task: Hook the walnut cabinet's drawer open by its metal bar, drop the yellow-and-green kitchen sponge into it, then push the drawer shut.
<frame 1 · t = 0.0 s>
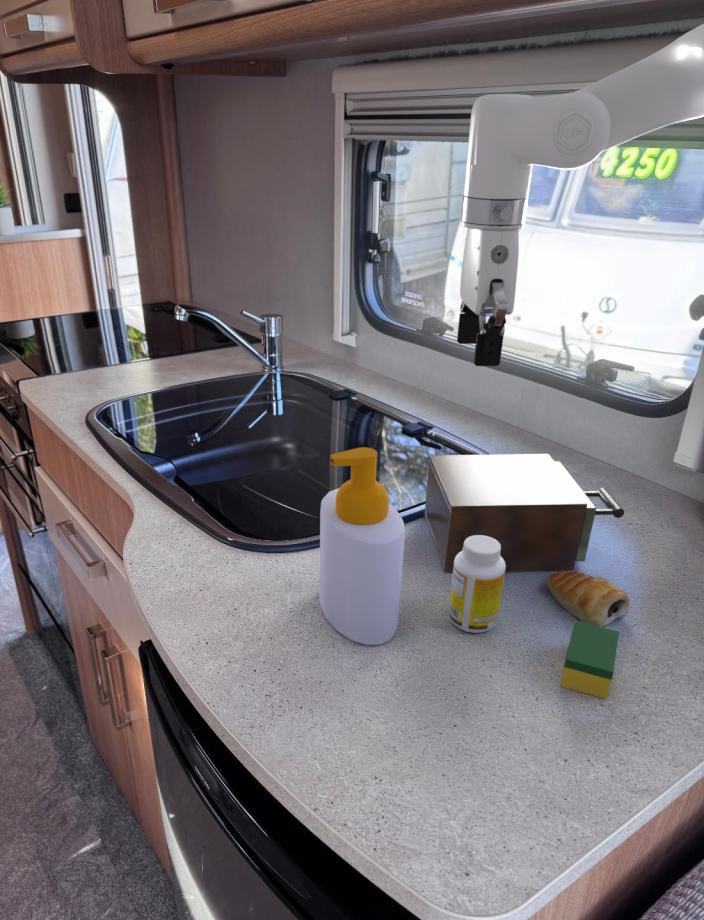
hand: (477, 353, 95), 23 cm above the worktop, tool pointing down, fingers open, 9 cm apart
sponge: (586, 671, 75), on the worktop
supplement bottle: (471, 621, 83), on the worktop
soap bottle: (357, 613, 84), on the worktop
drawer: (535, 510, 96), point 5 cm above the worktop, slide at 0.3 cm
pastry: (585, 608, 85), on the worktop
cabinet: (494, 541, 98), on the worktop
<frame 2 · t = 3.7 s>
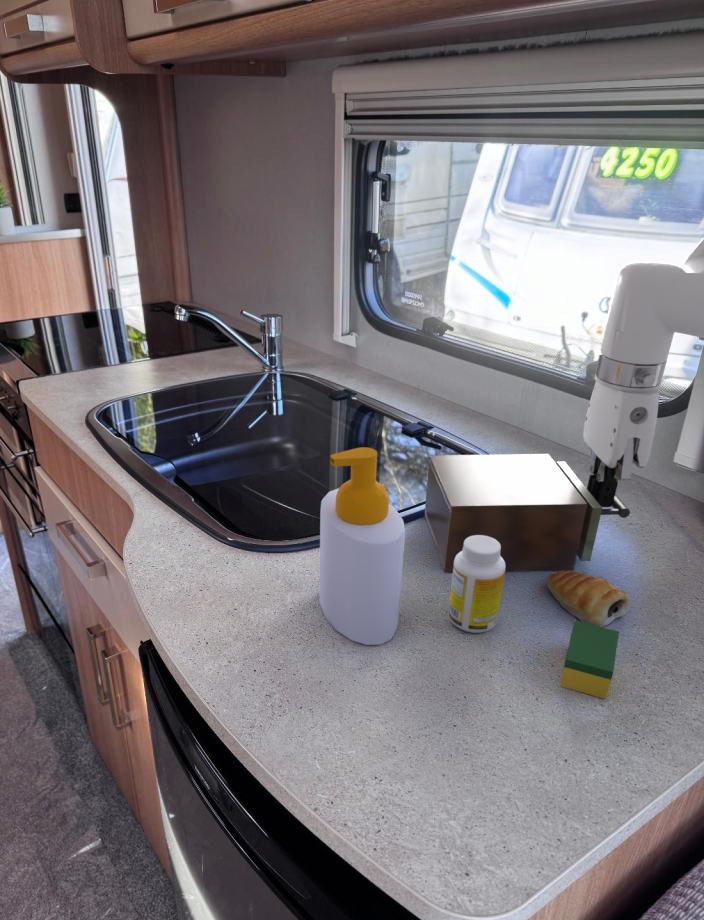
hand: (597, 504, 96), 6 cm above the worktop, tool pointing down, fingers closed
drawer: (540, 509, 96), point 5 cm above the worktop, slide at 1.0 cm
everything else where it was.
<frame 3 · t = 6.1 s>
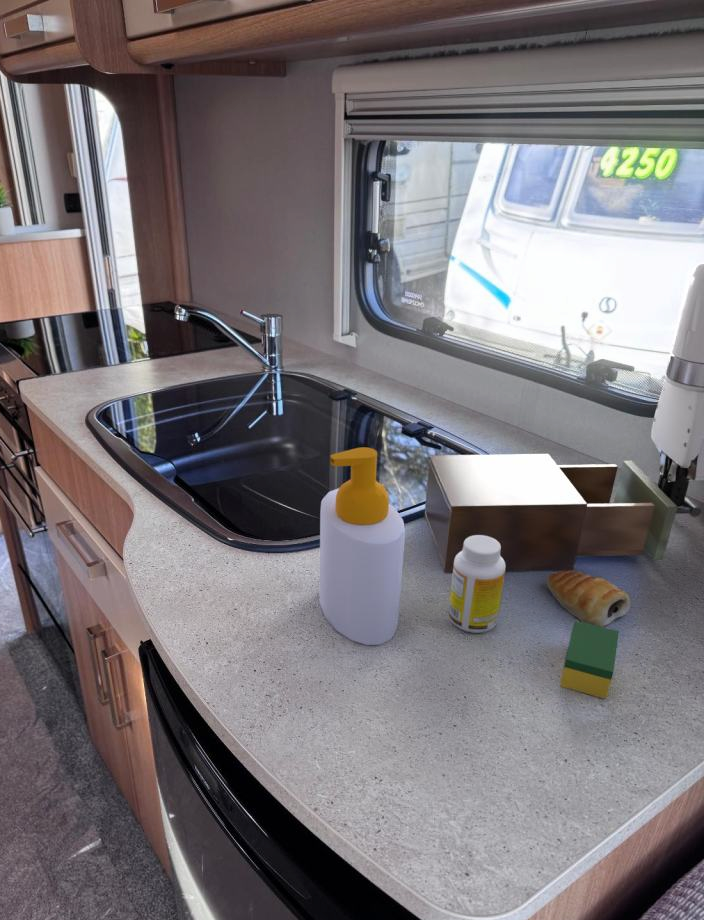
hand: (668, 504, 96), 5 cm above the worktop, tool pointing down, fingers closed
drawer: (610, 508, 96), point 5 cm above the worktop, slide at 10.5 cm
everything else where it was.
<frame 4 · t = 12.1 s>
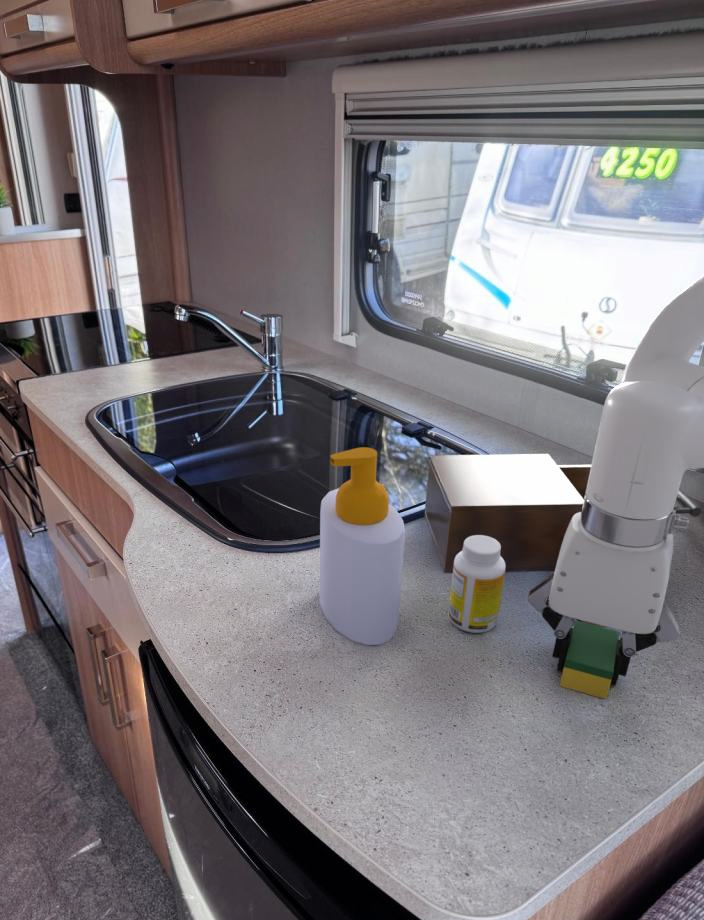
hand: (587, 668, 75), 0 cm above the worktop, tool pointing down, fingers closed on sponge, 4 cm apart
sponge: (586, 671, 75), on the worktop, touching gripper
everything else where it was.
when the fingers open (9 cm above the worktop, at t = 18.5 s): sponge drops 7 cm, resting on drawer.
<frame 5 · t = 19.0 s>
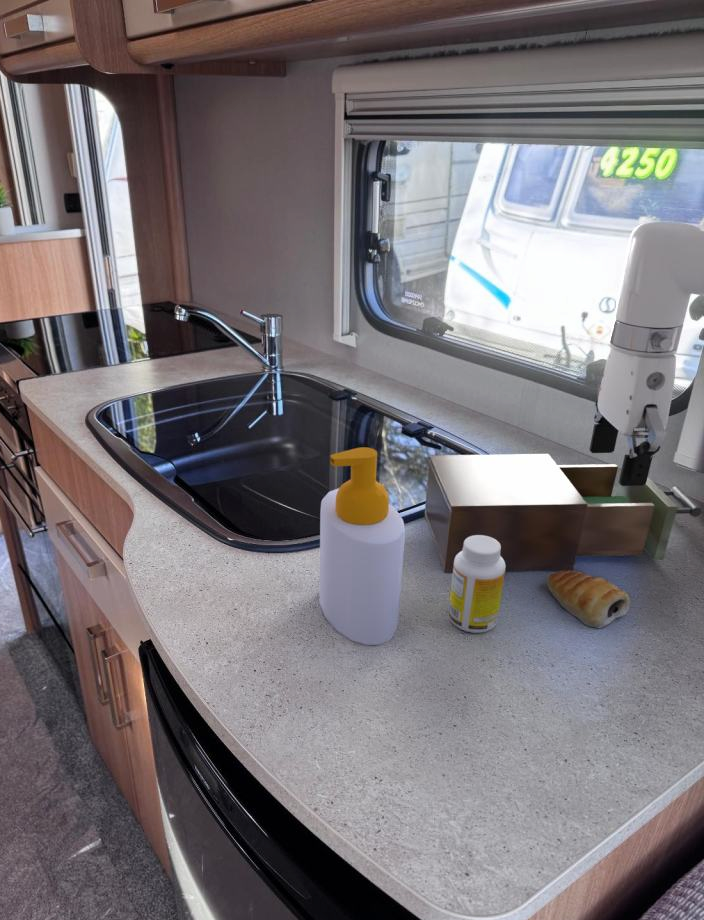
hand: (615, 467, 93), 11 cm above the worktop, tool pointing down, fingers open, 9 cm apart
sponge: (600, 527, 98), point 2 cm above the worktop, touching drawer
drawer: (610, 508, 96), point 5 cm above the worktop, slide at 10.5 cm, touching sponge
everything else where it was.
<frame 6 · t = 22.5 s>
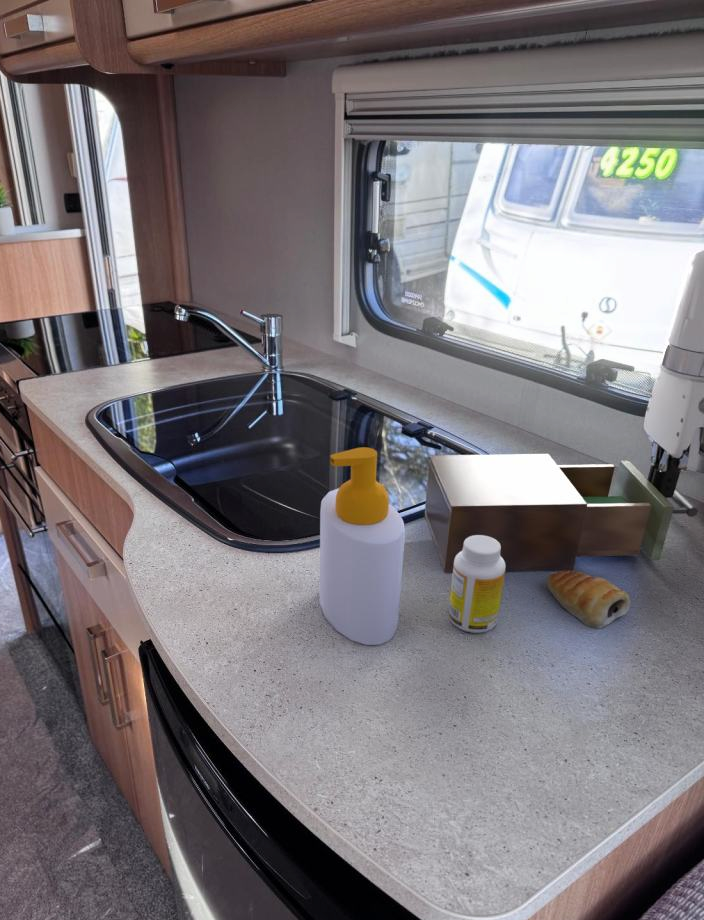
hand: (658, 494, 96), 7 cm above the worktop, tool pointing down, fingers closed
drawer: (607, 508, 96), point 5 cm above the worktop, slide at 10.1 cm, touching gripper, sponge
everything else where it was.
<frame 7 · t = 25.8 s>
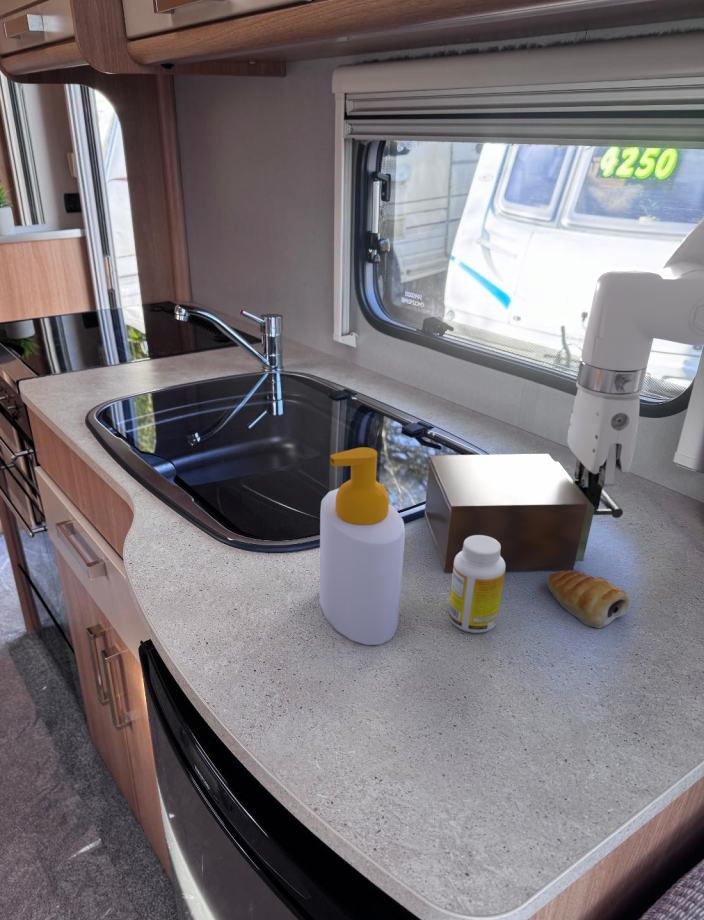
hand: (583, 509, 96), 5 cm above the worktop, tool pointing down, fingers closed
sponge: (524, 528, 97), point 2 cm above the worktop, touching drawer
drawer: (533, 510, 96), point 5 cm above the worktop, slide at 0.1 cm, touching sponge
everything else where it was.
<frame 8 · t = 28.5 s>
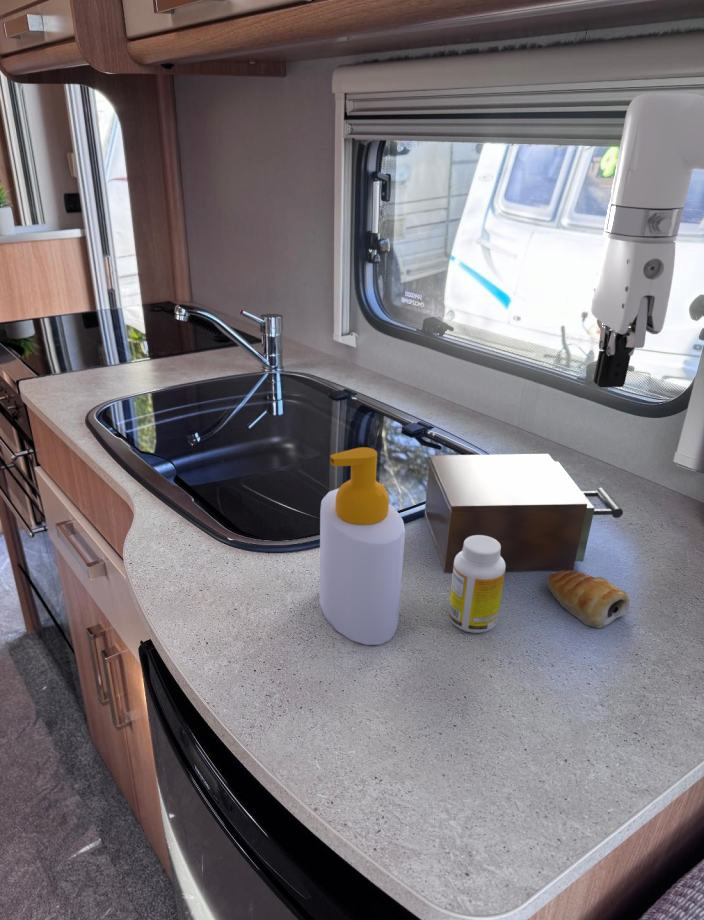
hand: (608, 384, 88), 22 cm above the worktop, tool pointing down, fingers closed
nothing on the worktop moved.
at the end: drawer pulled out 10.5 cm at the most during the clip, back to where it started at the end; sponge inside the target area in the cabinet (3.9 cm from its centre), point 2.0 cm above the cabinet's base; drawer slide at 0.1 cm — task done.
